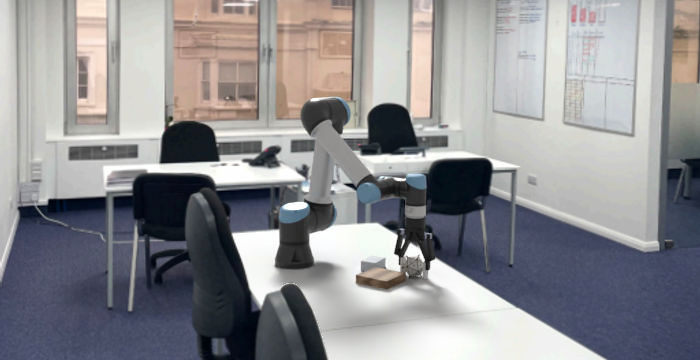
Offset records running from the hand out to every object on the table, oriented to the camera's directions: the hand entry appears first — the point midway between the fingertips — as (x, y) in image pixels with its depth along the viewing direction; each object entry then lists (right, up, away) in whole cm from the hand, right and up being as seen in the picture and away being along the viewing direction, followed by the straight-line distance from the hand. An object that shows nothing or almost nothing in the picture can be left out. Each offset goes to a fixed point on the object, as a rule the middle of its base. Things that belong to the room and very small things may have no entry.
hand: (414, 276), depth 300 cm
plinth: (-12, -1, -7) cm, 14 cm away
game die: (0, 0, 0) cm, 0 cm away
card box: (-15, +1, +10) cm, 18 cm away
